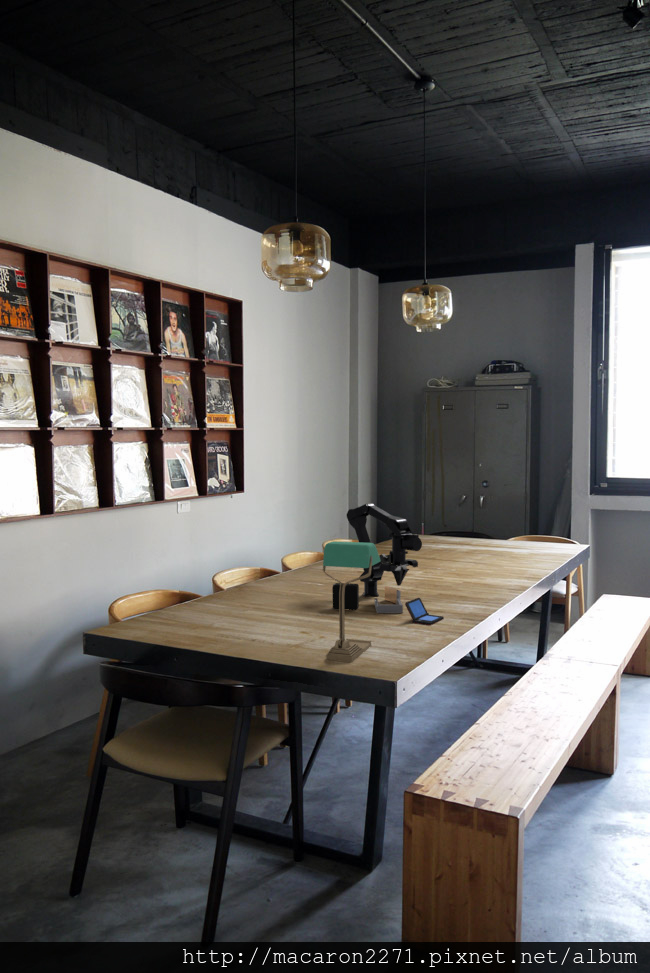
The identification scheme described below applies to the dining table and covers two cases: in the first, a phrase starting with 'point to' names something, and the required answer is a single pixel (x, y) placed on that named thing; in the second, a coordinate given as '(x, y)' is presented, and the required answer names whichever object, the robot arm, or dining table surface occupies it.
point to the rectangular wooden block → (392, 594)
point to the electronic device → (346, 596)
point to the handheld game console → (421, 613)
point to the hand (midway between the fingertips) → (398, 585)
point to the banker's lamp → (344, 557)
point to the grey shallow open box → (389, 607)
